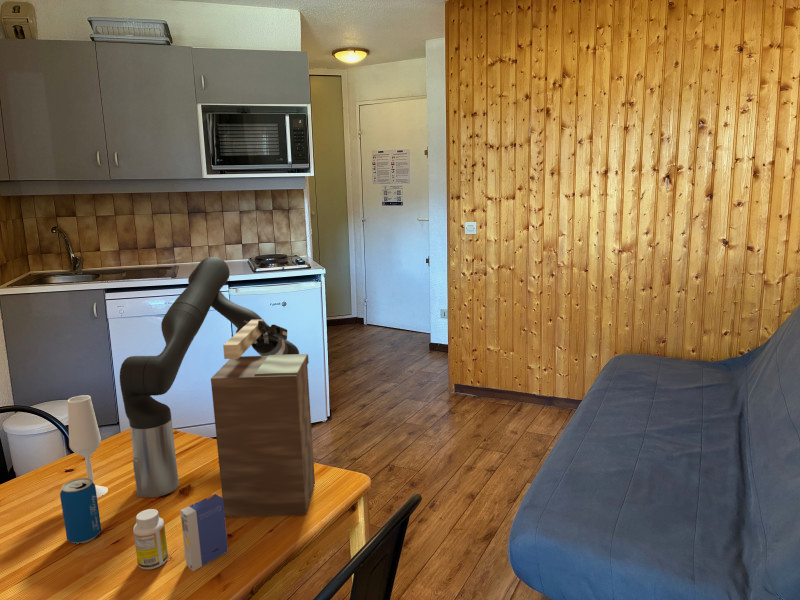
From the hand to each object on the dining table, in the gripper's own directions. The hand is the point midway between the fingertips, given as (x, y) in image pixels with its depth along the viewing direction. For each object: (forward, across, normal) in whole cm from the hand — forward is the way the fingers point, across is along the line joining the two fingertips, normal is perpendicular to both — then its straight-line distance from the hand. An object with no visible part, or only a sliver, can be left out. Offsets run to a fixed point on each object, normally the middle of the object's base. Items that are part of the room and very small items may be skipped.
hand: (252, 324), depth 142 cm
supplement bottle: (+10, -14, +51) cm, 54 cm away
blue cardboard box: (+10, -4, +51) cm, 52 cm away
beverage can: (+2, -32, +46) cm, 57 cm away
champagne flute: (-14, -40, +37) cm, 56 cm away
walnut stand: (-9, +5, +39) cm, 41 cm away
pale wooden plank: (+4, 0, +6) cm, 7 cm away
